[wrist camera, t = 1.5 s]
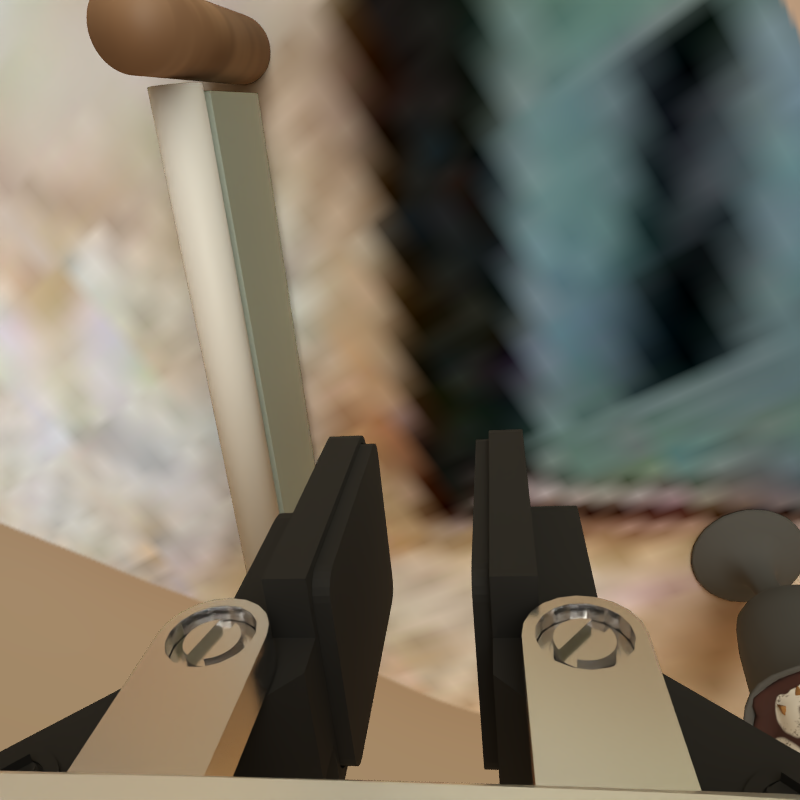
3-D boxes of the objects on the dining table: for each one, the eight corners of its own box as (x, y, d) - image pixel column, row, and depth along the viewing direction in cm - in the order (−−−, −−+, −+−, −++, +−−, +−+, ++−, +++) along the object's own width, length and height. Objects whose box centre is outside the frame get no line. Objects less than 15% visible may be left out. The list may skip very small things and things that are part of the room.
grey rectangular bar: (216, 91, 27) (137, 87, 21) (258, 87, 27) (190, 81, 21) (288, 506, 33) (244, 595, 27) (322, 505, 33) (285, 595, 27)
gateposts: (202, 18, 27) (76, -21, 19) (264, 10, 27) (163, -33, 18) (294, 546, 35) (235, 680, 27) (342, 545, 35) (297, 680, 27)
